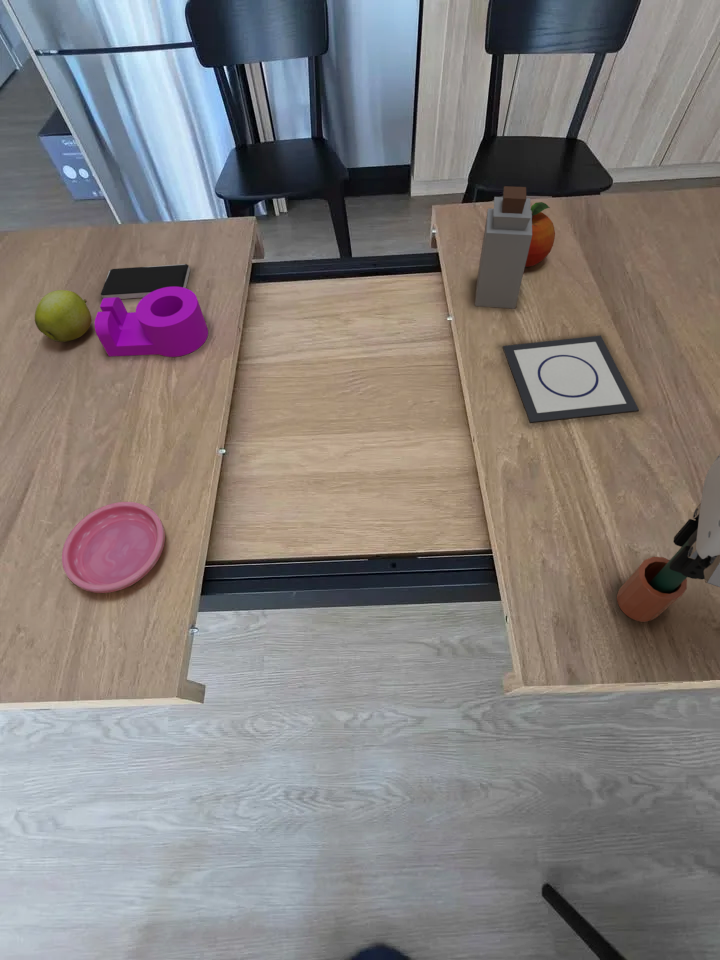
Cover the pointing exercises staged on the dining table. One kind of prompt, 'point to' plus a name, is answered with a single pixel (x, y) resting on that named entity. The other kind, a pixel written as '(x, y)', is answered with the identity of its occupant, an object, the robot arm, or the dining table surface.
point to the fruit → (540, 235)
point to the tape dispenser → (152, 324)
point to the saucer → (113, 547)
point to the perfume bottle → (504, 249)
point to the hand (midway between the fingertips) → (688, 558)
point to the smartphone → (143, 280)
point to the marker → (671, 573)
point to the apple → (62, 316)
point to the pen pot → (646, 592)
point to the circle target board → (568, 379)
